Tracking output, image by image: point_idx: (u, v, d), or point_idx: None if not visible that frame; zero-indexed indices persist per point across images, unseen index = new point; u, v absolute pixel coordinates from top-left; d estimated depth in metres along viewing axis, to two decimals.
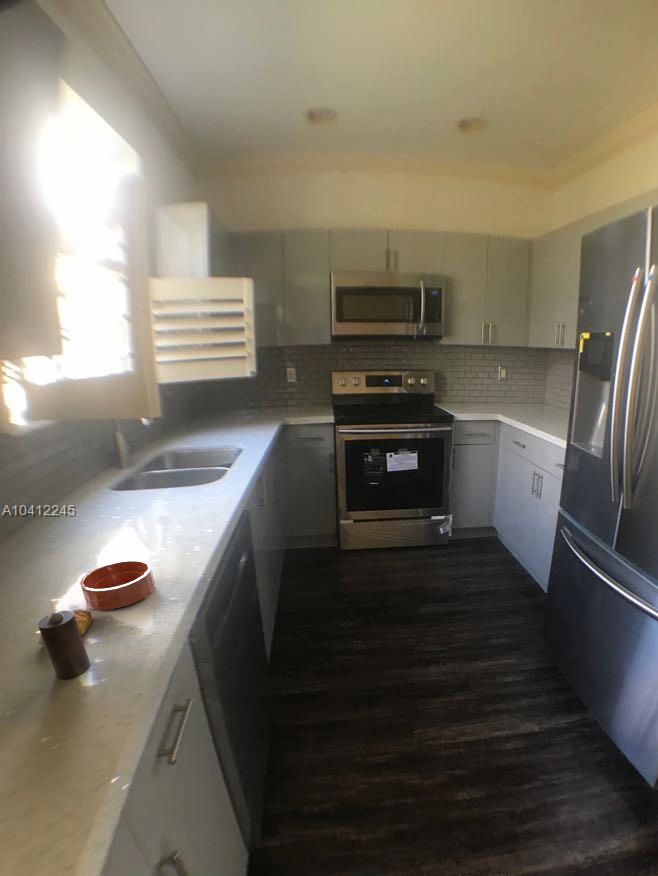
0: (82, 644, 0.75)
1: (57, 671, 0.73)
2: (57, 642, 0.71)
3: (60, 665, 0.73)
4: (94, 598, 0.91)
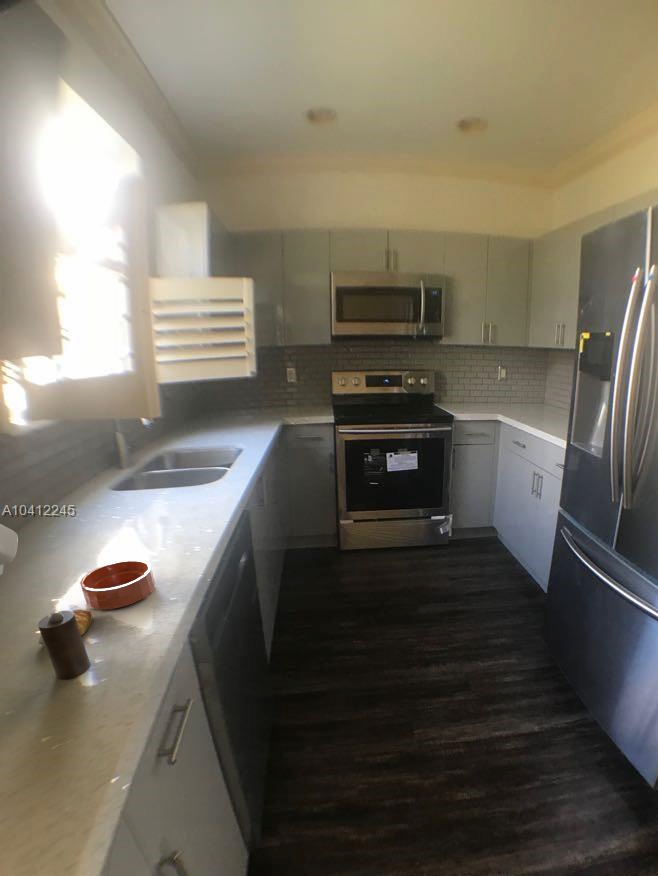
0: (82, 644, 0.75)
1: (57, 671, 0.73)
2: (57, 642, 0.71)
3: (60, 665, 0.73)
4: (94, 598, 0.91)
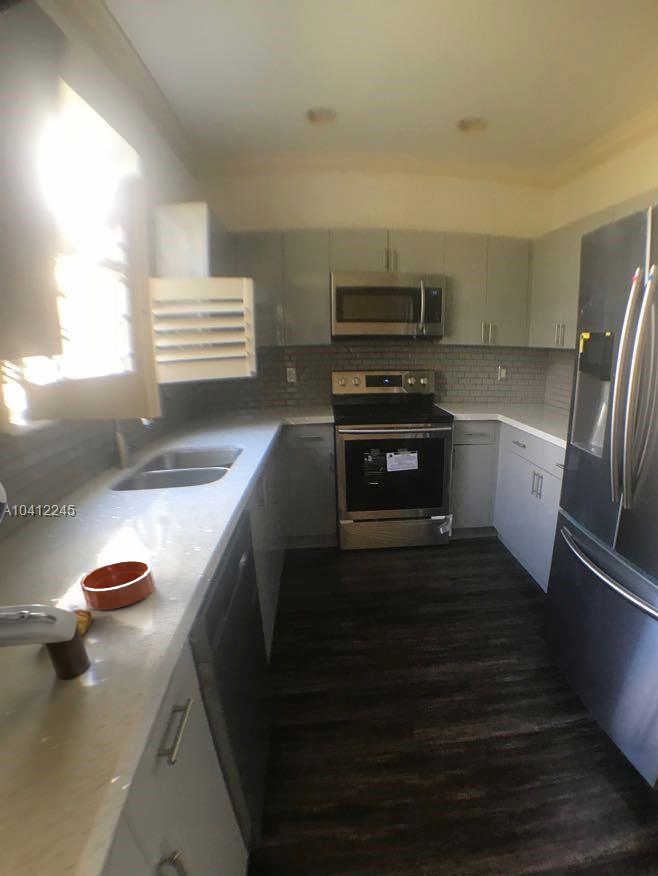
0: (82, 644, 0.75)
1: (57, 671, 0.73)
2: (57, 642, 0.71)
3: (60, 665, 0.73)
4: (94, 598, 0.91)
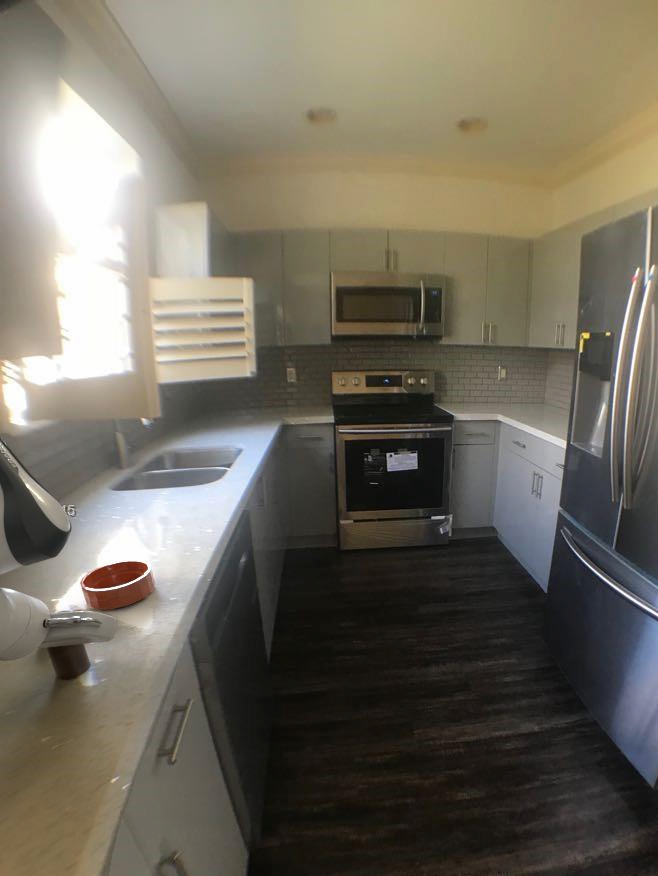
0: (82, 644, 0.75)
1: (57, 671, 0.73)
2: None
3: (61, 665, 0.73)
4: (94, 598, 0.91)
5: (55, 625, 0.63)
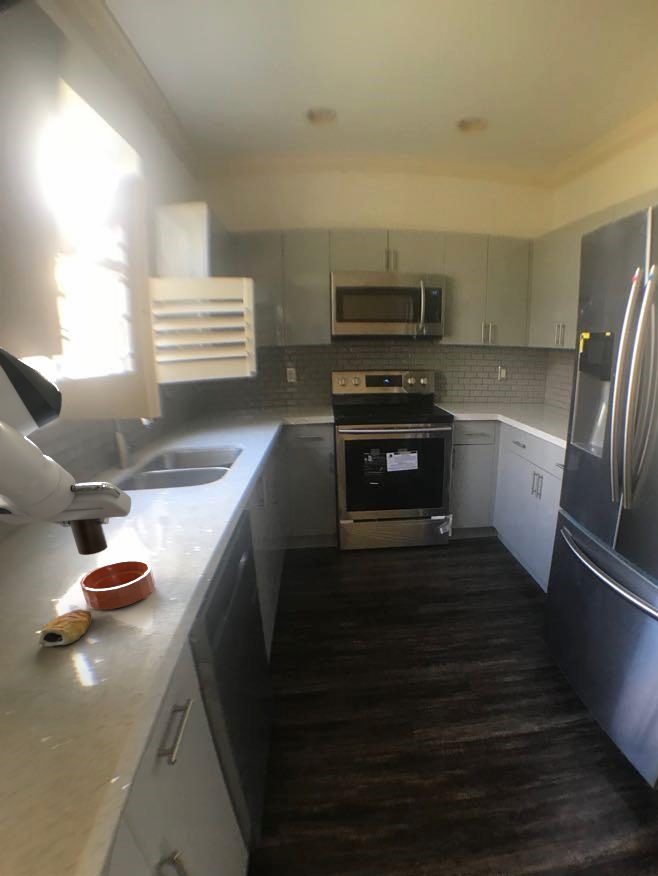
0: (101, 526, 0.86)
1: (80, 547, 0.84)
2: None
3: (83, 540, 0.84)
4: (94, 598, 0.91)
5: (81, 489, 0.74)
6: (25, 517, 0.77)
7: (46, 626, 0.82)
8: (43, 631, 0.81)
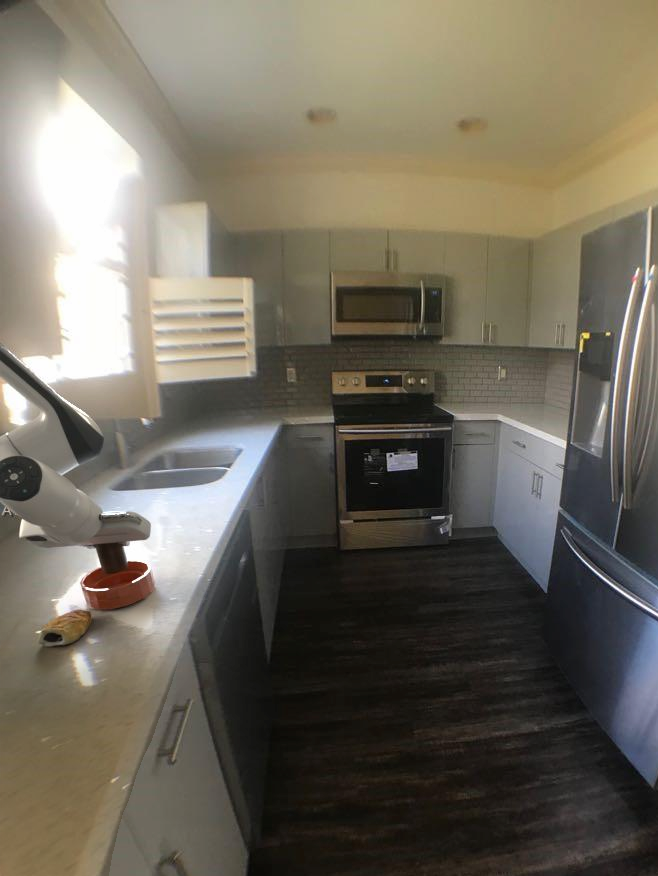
0: (123, 547, 0.95)
1: (104, 567, 0.93)
2: None
3: (107, 561, 0.92)
4: (94, 598, 0.91)
5: (108, 518, 0.82)
6: (57, 542, 0.86)
7: (46, 626, 0.82)
8: (43, 631, 0.81)
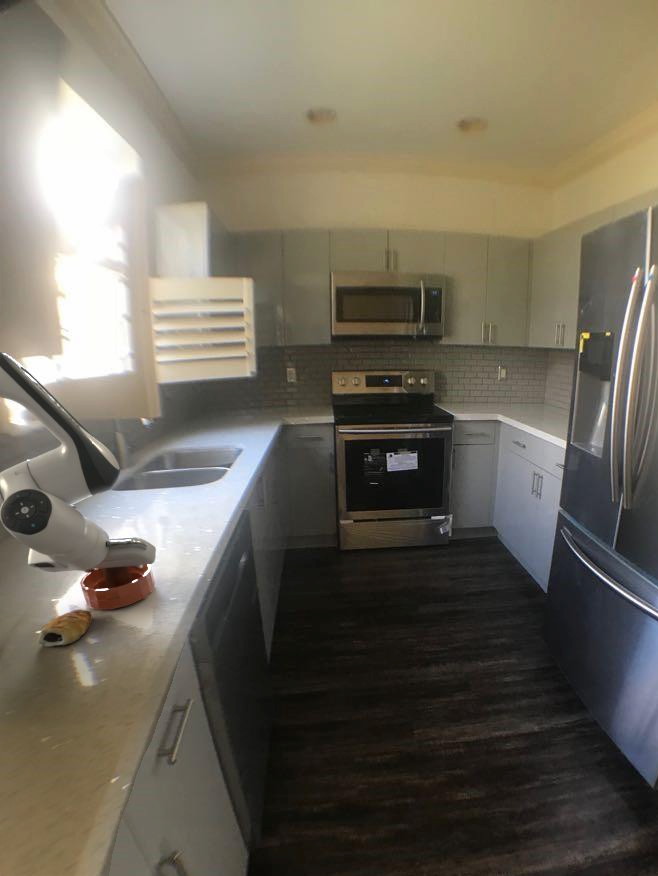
0: (129, 571, 0.97)
1: None
2: (112, 567, 0.93)
3: (114, 586, 0.95)
4: (94, 598, 0.91)
5: (114, 545, 0.84)
6: None
7: (46, 626, 0.82)
8: (43, 631, 0.81)
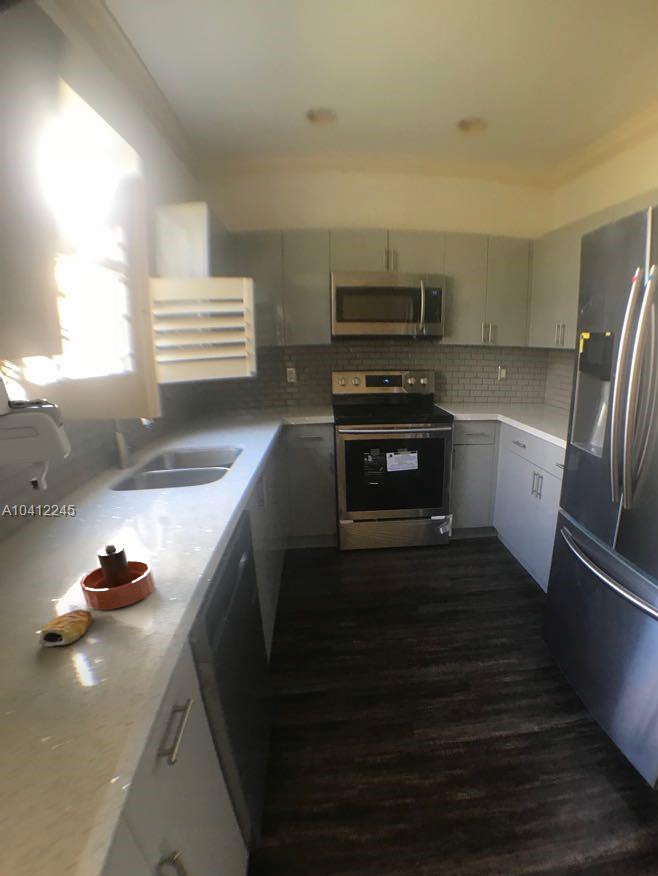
0: (129, 571, 0.97)
1: None
2: (112, 567, 0.93)
3: (114, 586, 0.95)
4: (94, 598, 0.91)
5: (20, 402, 0.68)
6: None
7: (46, 626, 0.82)
8: (43, 631, 0.81)
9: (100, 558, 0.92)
